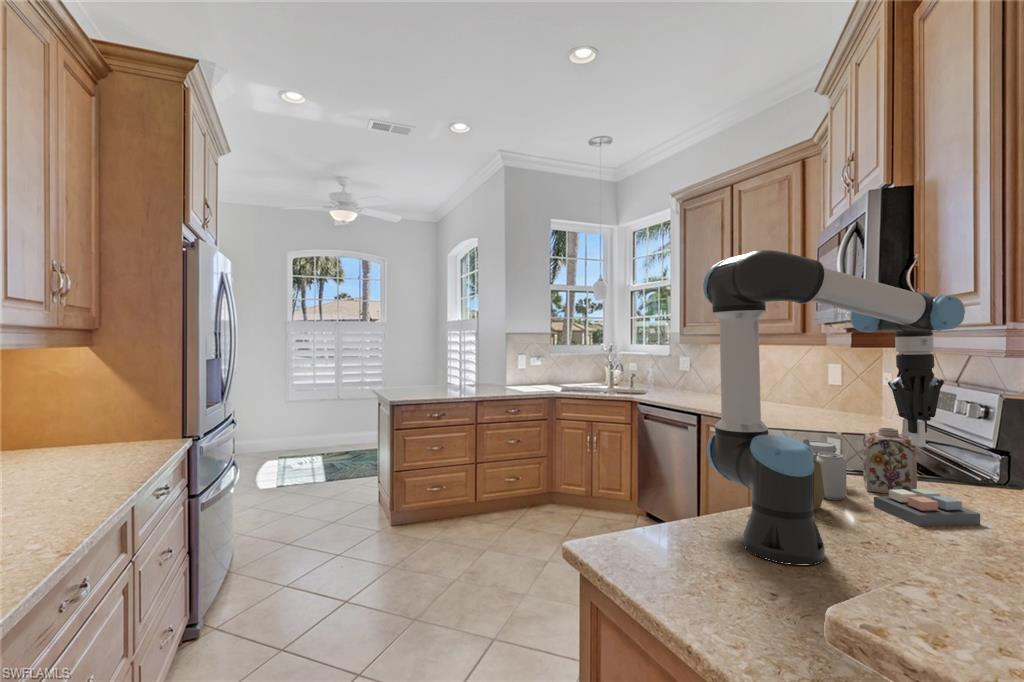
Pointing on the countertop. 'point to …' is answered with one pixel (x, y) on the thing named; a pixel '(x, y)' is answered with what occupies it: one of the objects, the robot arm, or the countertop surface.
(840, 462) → the can
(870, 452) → the decorative jar
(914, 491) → the sage key
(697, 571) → the countertop surface
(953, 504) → the slate key
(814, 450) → the disposable coffee cup
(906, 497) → the cream key
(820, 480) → the squeeze bottle
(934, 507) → the terracotta key
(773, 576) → the countertop surface
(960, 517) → the keypad
